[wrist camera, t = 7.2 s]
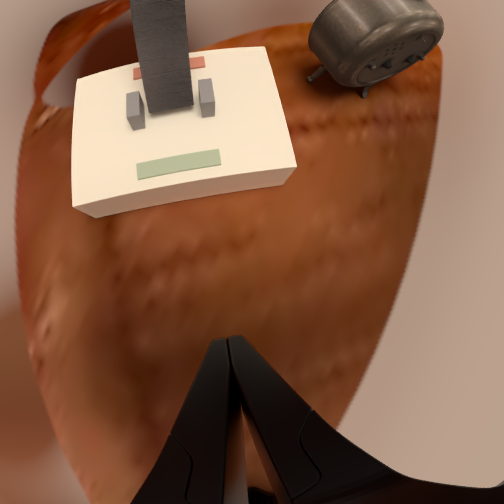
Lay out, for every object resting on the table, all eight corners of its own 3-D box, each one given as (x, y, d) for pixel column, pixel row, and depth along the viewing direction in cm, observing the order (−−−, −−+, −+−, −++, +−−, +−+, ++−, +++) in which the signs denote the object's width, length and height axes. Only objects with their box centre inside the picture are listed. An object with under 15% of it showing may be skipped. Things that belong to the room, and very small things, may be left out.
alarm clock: (372, 50, 24) (451, -51, 8) (403, 90, 24) (502, -2, 8) (288, 72, 23) (352, -81, 7) (322, 119, 23) (429, -26, 7)
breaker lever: (197, 107, 16) (185, -57, 8) (145, 117, 16) (119, -45, 7) (195, 93, 18) (184, -53, 9) (147, 102, 17) (126, -43, 9)
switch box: (282, 185, 22) (305, 155, 16) (95, 218, 20) (59, 200, 14) (257, 76, 22) (268, 31, 16) (93, 104, 20) (68, 66, 15)
